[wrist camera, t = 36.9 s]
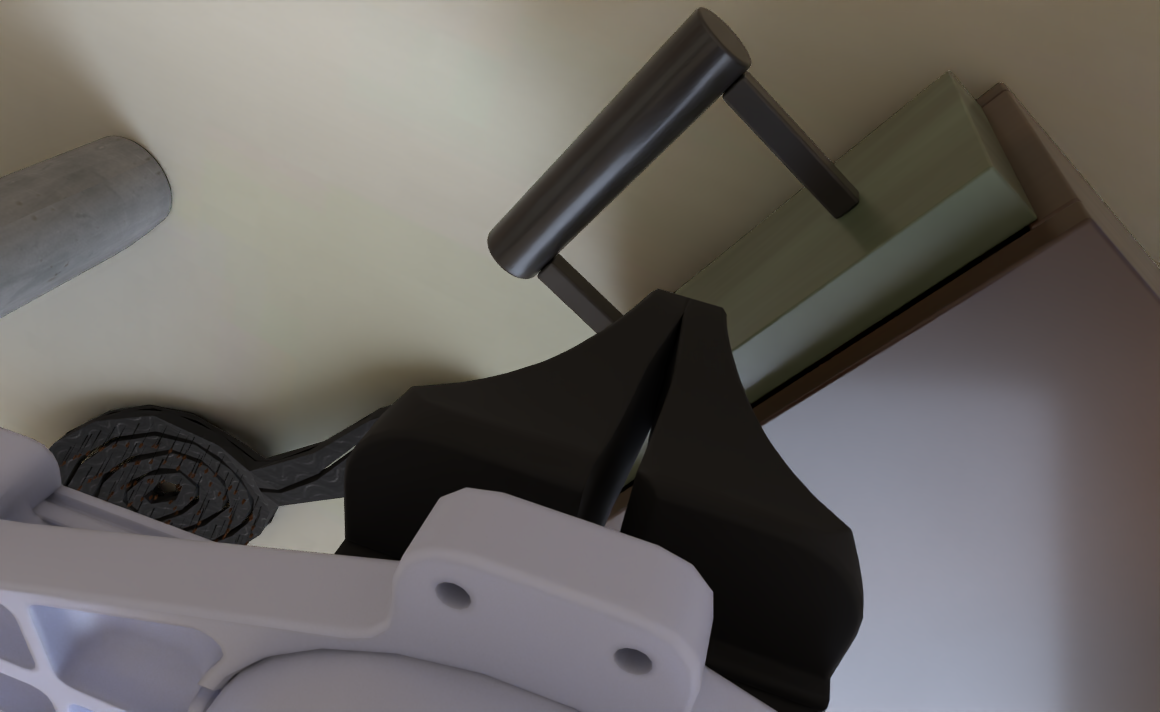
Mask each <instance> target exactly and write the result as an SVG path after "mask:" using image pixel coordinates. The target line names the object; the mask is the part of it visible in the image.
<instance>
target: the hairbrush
mask: <svg viewBox="0 0 1160 712" xmlns="http://www.w3.org/2000/svg"><path fill="white" fill-rule="evenodd" d="M390 406H391V405H389V406H386V407H383V408H380V409H378V410H376V411H374V412H373V413H371V414H369V415H368V416H366V417H364V418H363V419H361V420H359V421H358V422H356V423H354V424H353V425H351V426H349V427H347V428H346V429H344V430H342V431H341V432H339V433H337V434H336V435H334V436H332V437H331V438H329V439H327V440H326V441H323V442H320V443H317V444H313V445H310V446H307V447H303V448H300V449H297V450H293V451H290V452H287V453H283V454H280V455H277V456H273V457H270V458H266V459H265V458H264V457H262V456H261V455H259V454H258V453H256V452H255V451H254V450H252V449H251V448H249V447H248V446H246V445H245V444H243V443H242V442H241V441H239V440H238V439H236V438H234V437H233V436H231V435H229V434H227V433H226V432H224V431H222V430H220V429H219V428H217V427H215V426H214V425H212V424H210V423H208V422H207V421H205V420H203V419H202V418H200V417H198V416H196V415H195V414H192V413H187V412H182V411H177V410H172V409H167V408H162V407H157V406H152V405H146V406H139V407H133V408H126V409H119V410H112V411H109V412H107V413H105V414H103V415H101V416H99V417H97V418H94V419H92V420H90V421H88V422H87V423H85V424H83V425H81V426H79V427H77V428H75V429H73V430H71V431H69V432H67V434H66V435H65V436H63V437H62V438H61V439H59V440H58V441H57V442H55V443H54V444H53V445H52V446H51V447H50V448H49V450H50V451H51V452H52V454H53V455H54V457H55V459H56V461H57V463H58V466H59V469H60V475H61V484H62V485H63V486H66V487H68V488H71V489H74V490H76V491H79V492H82V493H85V494H87V495H90V496H93V497H95V498H98V499H101V500H103V501H106V502H109V503H111V504H114V505H117V506H120V507H122V508H125V509H128V510H130V511H133V512H136V513H138V514H141V515H144V516H146V517H149V518H152V519H154V520H157V521H160V522H163V523H165V524H168V525H171V526H173V527H176V528H179V529H181V530H184V531H187V532H189V533H192V534H195V535H198V536H200V537H203V538H206V539H208V540H211V541H214V542H218V543H228V544H238V545H247V544H248V543H249V541H251V540H252V539H254V538H256V537H257V536H259V535H260V534H261V533H262V531H263V530H264V528H265V527H266V526H267V525H268V524H269V523H271V521H272V519H273V517H274V515H275V512H276V510H277V508H278V506H282V505H289V504H297V503H304V502H312V501H319V500H327V499H335V498H342V497H344V473H345V467H346V461H347V459H348V457H349V456H350V454H351V452H352V451H353V450H352V451H350V452H349V453H347V454H346V455H345V456H343V457H342V458H340V459H339V460H338V461H336V462H335V463H333V464H332V465H331V466H329V467H328V468H326V467H327V466H328V465H330V464H331V463H332V462H334V461H335V460H336V459H338V458H339V457H340V456H342V455H343V454H344V453H346V452H347V451H348V450H350V449H351V448H352V447H354V446H355V445H356V444H358V442H359V441H360V440H361V439H362V438H363V436H364V435H365V434H366V433H367V432H368V430H369V429H370V428H371V427H372V426H373V424H374V423H375V422H376V421H377V420H378V418H379V417H380V416H381V415H382V414H383V413H384V412H385V411H386V410H387V409H388V408H389V407H390ZM120 436H121V437H120ZM114 437H119V438H117V439H114V440H112V441H110V442H108V443H107V441H109V440H110V439H112V438H114ZM105 442H106V443H107V444H105ZM103 443H104V444H105V445H104V444H103ZM102 444H103V445H102ZM100 445H102V446H101V447H100V448H99V450H98V451H97V452H96V453H95V454H94V455H92V456H91V457H90V458H89V459H87V460H86V461H85V462H84V463H82V461H83V460H84V459H85V458H86V457H87V456H88V455H89V454H90V453H91V452H92V451H93V450H94V449H95V448H97V447H98V446H100ZM135 455H138V456H136V457H135V458H133V459H132V460H130V461H128V462H127V463H124V465H122V466H120V467H119V465H118V464H120V463H121V462H123V461H124V460H126V459H127V458H128V457H129V458H130V456H135ZM81 463H82V464H81ZM117 465H118V466H117ZM116 466H117V467H116ZM324 468H326V469H324ZM114 469H115V470H116V471H115V472H113V471H114ZM146 473H147V474H146ZM144 474H146V475H145V476H143V477H142V478H140V480H139V481H138V482H136V481H137V479H138V478H139V477H140V476H142V475H144ZM164 481H166V482H170V483H173V484H176V485H177V486H176V488H178V487H179V486H180V487H179V488H178V492H176V491H175V492H169V493H163V492H162V490H161V489H160V488H159V486H158V483H160V482H161V484H162V483H163V482H164ZM181 487H182V489H181ZM176 490H177V489H176ZM179 490H181V491H179ZM198 495H199V500H197V501H195V502H192V503H190V502H191V501H192V500H193V499H194V498H196V497H197V496H198ZM228 502H229V503H230V507H228V508H227V509H225V510H222V509H223V507H224V506H225V504H226V503H228ZM189 503H190V504H189ZM187 504H188V505H187ZM220 510H222V511H220ZM218 511H219V512H218ZM252 511H253V512H252ZM251 512H252V514H251V515H250V516H249V519H248V520H247V521H245V522H243V521H244V520H245V519H246V518H247V516H248V515H249V514H250V513H251ZM242 522H243V523H242ZM241 523H242V524H241ZM238 525H239V526H238ZM233 528H234V529H233ZM231 529H232V530H231Z"/></svg>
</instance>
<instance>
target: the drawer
mask: <svg viewBox="0 0 1160 712" xmlns="http://www.w3.org/2000/svg"><path fill="white" fill-rule="evenodd" d="M751 63H752V62H751V58H750V56H749V53H748V51H747V50H746V48H745V46H744V45H743V43H742V42H741V41H740V39H739V38H738V37H737V36H736V34H735V33H734V32H733V31H732V30H731V29H730V28H729V26H728V25H727V24H726V23H725V22H724V21H722V20H721V19H720V18H719V17H718V16H717V15H715V14H714V13H713V12H711V11H710V10H708V9H706V8H703V7H700V8H698V9H696V10H695V11H694V12H693V13H692V14H691V16H690V17H689V18H688V19H687V20H686V21H685V22H684V23H683V24H682V25H681V26H680V27H679V28H678V30H677V31H676V32H675V33H674V34H673V35H672V36H671V37H670V38H669V39H668V40H667V41H666V42H665V44H664V45H663V46H662V47H661V48H660V49H659V50H658V51H657V52H656V53H655V54H654V55H653V57H652V58H651V59H650V60H649V61H648V62H647V63H646V64H645V65H644V66H643V67H642V68H641V69H640V71H639V72H638V73H637V74H636V75H635V76H634V77H633V78H632V79H631V80H630V81H629V82H628V84H627V85H626V86H625V87H624V88H623V89H622V90H621V91H620V92H619V93H618V94H617V95H616V96H615V98H614V99H613V100H612V101H611V102H610V103H609V104H608V105H607V106H606V107H605V108H604V109H603V110H602V112H601V113H600V114H599V115H598V116H597V117H596V118H595V119H594V120H593V121H592V122H591V123H590V125H589V126H588V127H587V128H586V129H585V130H584V131H583V132H582V133H581V134H580V135H579V136H578V137H577V139H576V140H575V141H574V142H573V143H572V144H571V145H570V146H569V147H568V148H567V149H566V150H565V152H564V153H563V154H562V155H561V156H560V157H559V158H558V159H557V160H556V161H555V162H554V163H553V164H552V166H551V167H550V168H549V169H548V170H547V171H546V172H545V173H544V174H543V175H542V176H541V177H540V178H539V180H538V181H537V182H536V183H535V184H534V185H533V186H532V187H531V188H530V189H529V190H528V191H527V193H526V194H525V195H524V196H523V197H522V198H521V199H520V200H519V201H518V202H517V203H516V204H515V205H514V207H513V208H512V209H511V210H510V211H509V212H508V213H507V214H506V215H505V216H504V217H503V218H502V220H501V221H500V222H499V223H498V224H497V225H496V226H495V227H494V228H493V229H492V230H491V231H490V233H489V235H488V239H487V243H488V248H489V250H490V253H491V255H492V256H493V258H494V259H495V261H496V262H497V263H498V264H499V265H500V266H501V267H502V268H503V269H504V270H505V271H507V272H508V273H510V274H511V275H513V276H515V277H518V278H522V279H529V278H532V277H534V276H535V275H536V274H537V273H538V272H539V271H540V270H541V271H540V272H539V273H538V278H539V279H540V280H541V281H542V282H543V283H544V284H545V285H546V286H547V287H548V288H549V289H550V290H552V291H553V292H554V293H555V294H556V295H557V296H558V297H559V298H560V299H561V300H562V301H563V302H564V303H565V304H566V305H567V306H568V307H570V308H571V309H572V310H573V311H574V312H575V313H576V314H577V315H578V316H579V317H580V318H581V319H582V320H583V321H584V322H585V323H586V324H588V325H589V326H590V327H591V328H592V329H593V330H594V331H595V332H596V333H599V332H601V331H602V330H604V329H605V328H607V327H608V326H609V325H611V324H612V323H614V322H615V321H616V320H618V319H619V318H621V317H622V316H623V315H622V314H621V313H620V312H619V311H618V310H617V309H616V308H615V307H614V306H613V305H612V304H611V303H610V302H609V301H608V300H607V299H606V298H605V297H604V296H603V295H602V294H601V293H599V292H598V291H597V290H596V289H595V288H594V287H593V286H592V285H591V284H590V283H589V282H588V281H587V280H586V279H585V278H584V277H583V276H582V275H581V274H580V273H579V272H578V271H577V270H576V269H574V268H573V267H572V266H571V265H570V264H569V263H568V262H567V261H566V260H565V259H564V258H563V257H562V256H561V255H560V254H558V253H559V252H560V251H561V250H562V249H563V248H564V247H565V246H566V245H567V244H568V243H569V242H570V241H571V240H572V239H573V238H574V237H576V236H577V235H578V234H579V233H580V232H581V231H582V230H583V229H584V228H585V227H586V226H587V225H588V224H589V223H590V222H591V221H592V220H593V219H594V218H595V217H596V216H597V215H598V214H599V213H600V212H601V211H602V210H603V209H604V208H605V207H606V206H608V205H609V204H610V203H611V202H612V201H613V200H614V199H615V198H616V197H617V196H618V195H619V194H620V193H621V192H622V191H623V190H624V189H625V188H626V187H627V186H628V185H629V184H630V183H631V182H632V181H633V180H634V179H635V178H636V177H637V176H639V175H640V174H641V173H642V172H643V171H644V170H645V169H646V168H647V167H648V166H649V165H650V164H651V163H652V162H653V161H654V160H655V159H656V158H657V157H658V156H659V155H660V154H661V153H662V152H663V151H664V150H665V149H666V148H667V147H668V146H669V145H671V144H672V143H673V142H674V141H675V140H676V139H677V138H678V137H679V136H680V135H681V134H682V133H683V132H684V131H685V130H686V129H687V128H688V127H689V126H690V125H691V124H692V123H693V122H694V121H695V120H696V119H697V118H698V117H699V116H700V115H701V114H703V113H704V112H705V111H706V110H707V109H708V108H709V107H710V106H711V105H712V104H713V103H714V102H715V101H716V100H717V99H718V98H719V97H720V96H721V95H722V94H723V93H724V92H725V93H724V95H723V100H724V101H725V102H726V103H727V104H728V105H729V106H730V107H731V108H732V109H733V110H734V112H735V113H736V114H737V115H738V116H739V117H740V118H741V119H742V120H743V121H744V122H745V123H746V124H747V125H748V126H749V128H750V129H751V130H752V131H753V132H754V133H755V134H756V135H757V136H758V137H759V138H760V139H761V140H762V141H763V142H764V144H765V145H766V146H767V147H768V148H769V149H770V150H771V151H772V152H773V153H774V154H775V155H776V156H777V157H778V159H779V160H780V161H781V162H782V163H783V164H784V165H785V166H786V167H787V168H788V169H789V170H790V171H791V172H792V173H793V175H794V176H795V177H796V178H797V179H798V180H799V181H800V182H801V183H802V184H803V185H804V186H805V187H804V188H803V189H802V190H800V191H799V192H798V193H797V194H795V195H794V196H793V197H792V198H791V199H789V200H788V201H787V202H786V203H784V204H783V205H782V206H781V207H779V208H778V209H777V210H776V211H775V212H773V213H772V214H771V215H770V216H768V217H767V218H766V219H765V220H763V221H762V222H761V223H760V224H759V225H757V226H756V227H755V228H754V229H752V230H751V231H750V232H749V233H747V234H746V235H745V236H744V237H743V238H741V239H740V240H739V241H738V242H736V243H735V244H734V245H733V246H731V247H730V248H729V249H728V250H727V251H725V252H724V253H723V254H722V255H720V256H719V257H718V258H717V259H715V260H714V261H713V262H712V263H711V264H709V265H708V266H707V267H706V268H704V269H703V270H702V271H701V272H699V273H698V274H697V275H696V276H694V277H693V278H692V279H691V280H690V281H688V282H687V283H686V284H685V285H683V286H682V287H681V288H680V289H678V290H677V291H676V292H675V294H678V295H681V296H685V297H688V298H692V299H695V300H699V301H702V302H705V303H709V304H712V305H716V306H719V307H723V309H724V311H725V312H726V314H727V330H728V336H729V341H730V346H731V350H732V354H733V358H734V361H735V364H736V367H737V371H738V374H739V377H740V380H741V383H742V385H743V388H744V390H745V393H746V395H747V398H748V400H749V403H750V405H751V407H752V409H753V408H754V407H756V406H758V405H759V404H761V403H762V402H764V401H765V400H767V399H769V398H770V397H772V396H773V395H775V394H776V393H778V392H779V391H781V390H783V389H784V388H786V387H787V386H789V385H790V384H792V383H793V382H795V381H797V380H798V379H800V378H801V377H803V376H804V375H806V372H807V369H808V367H809V366H811V365H812V364H814V363H815V362H817V361H818V360H820V359H822V358H823V357H825V356H826V355H828V354H829V353H831V352H832V351H834V350H835V349H837V348H839V347H840V346H842V345H843V344H845V343H846V342H848V341H849V340H851V339H852V338H854V337H856V336H857V335H859V334H860V333H862V332H863V331H865V330H866V329H868V328H870V327H871V326H873V325H874V324H876V323H877V322H879V321H880V320H882V319H883V318H885V317H893V316H898V315H900V314H901V313H903V312H904V311H906V310H907V309H909V308H910V307H912V306H914V305H915V304H917V303H918V302H920V301H921V300H923V299H924V298H926V297H928V296H929V295H931V294H932V293H934V292H935V291H937V290H938V289H940V288H942V287H943V286H945V285H946V284H948V283H949V282H951V281H953V280H954V279H956V278H957V277H959V276H960V275H962V274H963V273H965V272H967V271H968V270H970V269H971V268H973V267H974V266H976V265H977V264H979V263H981V262H982V261H984V260H985V259H987V258H988V257H990V256H992V255H993V254H995V253H996V252H998V251H999V250H1001V249H1002V248H1004V247H1006V246H1007V245H1009V244H1010V243H1012V242H1013V241H1015V240H1016V239H1018V238H1020V237H1021V236H1023V235H1024V234H1026V233H1027V232H1029V231H1030V229H1029V227H1028V225H1029V224H1030V223H1032V222H1033V221H1035V220H1036V219H1037V215H1036V213H1035V211H1034V209H1033V207H1032V206H1031V204H1030V202H1029V200H1028V198H1027V196H1026V194H1025V192H1024V190H1023V188H1022V186H1021V184H1020V182H1019V180H1018V178H1017V176H1016V174H1015V172H1014V170H1013V168H1012V166H1011V164H1010V162H1009V160H1008V158H1007V157H1006V155H1005V153H1004V151H1003V149H1002V147H1001V145H1000V143H999V141H998V139H997V137H996V135H995V133H994V131H993V129H992V127H991V125H990V123H989V121H988V119H987V117H986V115H985V113H984V111H983V109H982V108H981V106H980V105H979V104H978V103H977V101H976V100H975V99H974V98H973V97H972V96H971V94H970V93H969V92H968V91H967V90H966V89H965V87H964V86H963V85H962V84H961V83H960V82H959V80H958V79H957V78H956V77H955V76H954V75H953V73H952V72H951V71H947V72H946V73H944V74H943V75H942V76H941V77H940V78H938V79H937V80H936V81H935V82H933V83H932V84H931V85H930V86H928V87H927V88H926V89H925V90H924V91H922V92H921V93H920V94H919V95H917V96H916V97H915V98H914V99H912V100H911V101H910V102H909V103H908V104H906V105H905V106H904V107H903V108H901V109H900V110H899V111H898V112H896V113H895V114H894V115H893V116H892V117H890V118H889V119H888V120H887V121H885V122H884V123H883V124H882V125H880V126H879V127H878V128H877V129H876V130H874V131H873V132H872V133H871V134H869V135H868V136H867V137H866V138H864V139H863V140H862V141H861V142H860V143H858V144H857V145H856V146H855V147H853V148H852V149H851V150H850V151H848V152H847V153H846V154H845V155H844V156H842V157H841V158H840V159H839V160H837V161H836V162H835V163H834V164H833V163H832V162H831V161H830V160H829V159H828V157H827V156H826V155H825V154H824V153H823V152H822V151H821V150H820V149H819V148H818V147H817V146H816V144H815V143H814V142H813V141H812V140H811V139H810V138H809V137H808V136H807V135H806V134H805V132H804V131H803V130H802V129H801V128H800V127H799V126H798V125H797V124H796V123H795V122H794V121H793V119H792V118H791V117H790V116H789V115H788V114H787V113H786V112H785V111H784V110H783V109H782V107H781V106H780V105H779V104H778V103H777V102H776V101H775V100H774V99H773V98H772V97H771V96H770V94H769V93H768V92H767V91H766V90H765V89H764V88H763V87H762V86H761V85H760V84H759V82H758V81H757V80H756V79H755V78H754V77H753V76H752V75H751V74H750V73H749V72H748V71H747V70H748V69H749V68H750V66H751ZM650 430H651V429H650ZM649 435H650V431H649V433H648V435H647V437H646V439H645V442H644V444H643V446H642V448H641V450H640V452H639V454H638V456H637V458H636V460H635V462H634V465H633V467H632V469H631V471H630V473H629V475H628V477H627V479H626V481H625V483H624V485H623V487H624V486H625V485H627V484H628V483H630V482H631V481H633V480H634V479H635V476H636V473H637V470H638V468H639V465H640V463H641V461H642V458H643V456H644V454H645V451H646V449H647V444H648V439H649Z"/></svg>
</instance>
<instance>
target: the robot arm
mask: <svg viewBox="0 0 1160 712" xmlns="http://www.w3.org/2000/svg"><path fill="white" fill-rule="evenodd" d="M650 429H651V430H650ZM649 431H650V435H649V439H648V444H647V449H646V451H645V454H644V456H643V458H642V461H641V463H640V465H639V468H638V470H637V473H636V476H635V480H634V483H633V487H632V490H631V494H630V497H629V501H628V504H627V508H626V512H625V515H624V519H623V522H622V526H621V529H620V532H618V531H615V530H612V529H609V528H606V527H605V524H606V522H607V519H608V517H609V515H610V512H611V510H612V508H613V506H614V504H615V502H616V500H617V498H618V496H619V494H620V492H621V489H622V487H623V485H624V483H625V481H626V479H627V477H628V475H629V473H630V471H631V469H632V467H633V465H634V462H635V460H636V458H637V456H638V454H639V452H640V450H641V448H642V446H643V444H644V442H645V439H646V437H647V435H648V433H649ZM344 509H345V540H344V542H343V543H342V544H341V546H340V547H339V548H338V550H337V551H336V552H335V554H326V553H317V552H307V551H297V550H287V549H277V548H267V547H257V546H248V545H238V544H228V543H218V542H214V541H211V540H208V539H206V538H203V537H200V536H198V535H195V534H192V533H189V532H187V531H184V530H181V529H179V528H176V527H173V526H171V525H168V524H165V523H163V522H160V521H157V520H154V519H152V518H149V517H146V516H144V515H141V514H138V513H136V512H133V511H130V510H128V509H125V508H122V507H120V506H117V505H114V504H111V503H109V502H106V501H103V500H101V499H98V498H95V497H93V496H90V495H87V494H85V493H82V492H79V491H76V490H74V489H71V488H68V487H66V486H63V485H62V484H61V475H60V469H59V466H58V463H57V461H56V459H55V457H54V455H53V454H52V452H51V451H50V450H49V449H47V448H46V447H45V446H44V445H43V444H41V443H40V442H38V441H36V440H34V439H32V438H29V437H26V436H24V435H21V434H18V433H15V432H13V431H10V430H7V429H4V428H2V427H0V712H825V711H826V709H827V708H828V705H829V701H830V678H831V677H832V675H833V673H834V672H835V670H836V668H837V667H838V665H839V664H840V662H841V660H842V659H843V657H844V655H845V654H846V652H847V651H848V649H849V647H850V646H851V644H852V642H853V641H854V639H855V638H856V636H857V634H858V631H859V628H860V626H861V623H862V620H863V608H864V592H863V583H862V575H861V570H860V564H859V558H858V554H857V549H856V545H855V540H854V536H853V532H852V530H851V528H849V527H848V526H847V525H846V524H845V523H844V522H843V521H842V520H840V519H839V518H838V517H837V516H836V515H835V514H834V513H833V512H832V511H830V510H829V509H828V508H827V507H826V506H825V505H824V504H823V503H822V502H820V501H819V500H818V499H817V498H816V497H815V496H814V495H813V494H812V493H811V492H810V490H809V489H808V488H807V487H806V486H805V485H804V484H803V483H802V482H801V481H800V480H799V478H798V477H797V476H796V475H795V474H794V473H793V471H792V470H791V469H790V468H789V467H788V465H787V464H786V463H785V461H784V460H783V459H782V457H781V456H780V455H779V453H778V452H777V450H776V449H775V448H774V446H773V445H772V443H771V442H770V440H769V439H768V437H767V436H766V434H765V432H764V430H763V429H762V427H761V425H760V423H759V421H758V419H757V417H756V415H755V413H754V411H753V409H752V407H751V405H750V403H749V400H748V398H747V395H746V393H745V390H744V388H743V385H742V383H741V380H740V377H739V374H738V371H737V367H736V364H735V361H734V358H733V354H732V350H731V346H730V341H729V336H728V330H727V314H726V312H725V311H724V309H723V307H719V306H716V305H712V304H709V303H705V302H702V301H699V300H695V299H692V298H688V297H685V296H681V295H678V294H675V293H671V292H668V291H664V290H661V289H657V290H655V291H653V292H651V293H650V294H649V295H648V296H647V297H645V298H644V299H643V300H642V301H641V302H640V303H639V304H637V305H636V306H635V307H634V308H633V309H631V310H630V311H629V312H627V313H626V314H625V315H624V316H622V317H621V318H619V319H618V320H616V321H615V322H614V323H612V324H611V325H609V326H608V327H607V328H605V329H604V330H602V331H601V332H599V333H597V334H596V335H594V336H592V337H591V338H589V339H587V340H585V341H584V342H582V343H580V344H579V345H577V346H575V347H573V348H571V349H569V350H567V351H566V352H564V353H561V354H559V355H557V356H555V357H553V358H550V359H548V360H546V361H543V362H541V363H537V364H534V365H531V366H528V367H525V368H522V369H519V370H516V371H512V372H509V373H505V374H501V375H497V376H493V377H488V378H483V379H478V380H472V381H466V382H460V383H451V384H440V385H429V386H414V387H411V388H410V389H409V390H408V391H407V392H406V393H405V394H404V395H403V396H402V397H400V398H399V399H398V400H397V401H396V402H394V403H393V404H392V405H391V406H390V407H389V408H388V409H387V410H386V411H385V412H384V413H383V414H382V415H381V416H380V417H379V418H378V420H377V421H376V422H375V423H374V424H373V426H372V427H371V428H370V429H369V430H368V432H367V433H366V434H365V435H364V436H363V438H362V439H361V440H360V441H359V442H358V444H357V445H356V446H355V447H354V449H353V451H352V452H351V454H350V456H349V457H348V459H347V461H346V467H345V473H344Z"/></svg>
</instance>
